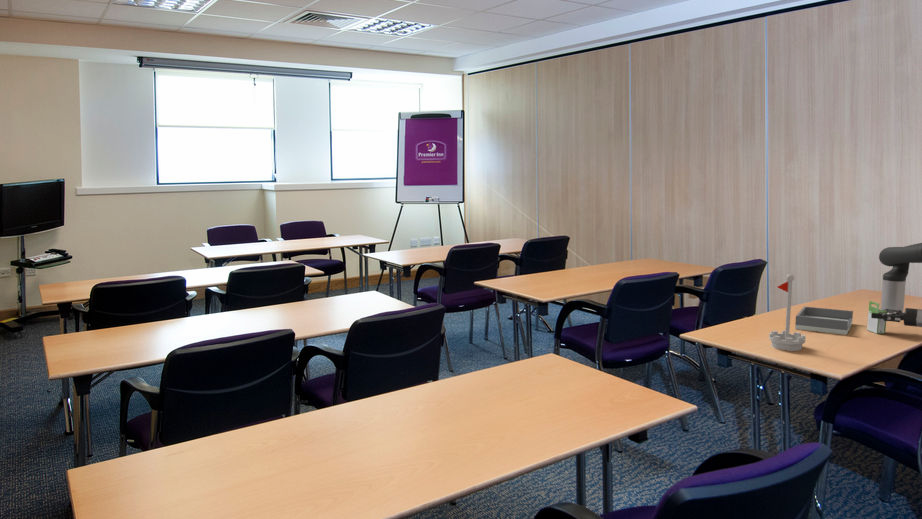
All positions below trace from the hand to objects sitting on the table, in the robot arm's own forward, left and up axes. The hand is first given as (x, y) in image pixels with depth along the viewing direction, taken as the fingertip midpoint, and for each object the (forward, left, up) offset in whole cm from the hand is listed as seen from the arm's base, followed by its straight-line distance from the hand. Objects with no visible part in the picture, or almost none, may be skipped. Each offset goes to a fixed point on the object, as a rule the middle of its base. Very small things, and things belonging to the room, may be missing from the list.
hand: (872, 313), depth 279 cm
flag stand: (+46, -26, -8) cm, 53 cm away
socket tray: (0, -18, -8) cm, 20 cm away
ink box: (0, +2, -8) cm, 9 cm away
